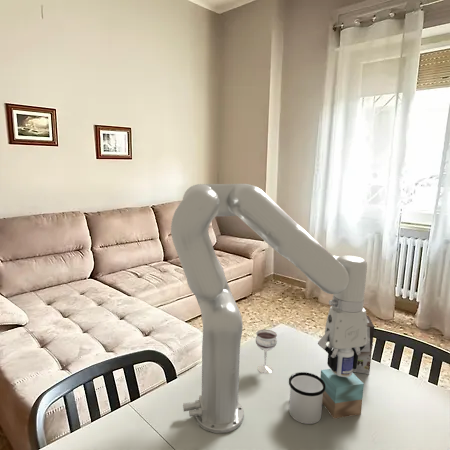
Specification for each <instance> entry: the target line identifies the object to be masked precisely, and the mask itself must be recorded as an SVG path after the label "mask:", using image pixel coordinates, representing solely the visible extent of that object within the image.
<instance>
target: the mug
mask: <svg viewBox="0 0 450 450" xmlns="http://www.w3.org/2000/svg"><path fill="white" fill-rule="evenodd" d="M320 377H321V376H318V375H316V374H314V373H311V372H307V371H306V372H304V371H303V372H301V371H300V372H295V373H293V374H291V375H290V376H289V378H288V385H289V389H290V390H289V393H290V394H289V403H288V405H289V406H288V413H289V415H290V416H291V417H292V418H293V420H295V421H297V422H298V423H302V424H305V425H312V424H316V423H318V422H320V420H321V418H322V412H323V411H322V408H323V404H322V399H323V393H324V391H325V389H326V385H325V382H324V381H323V380H322V379H321V378H320Z"/></svg>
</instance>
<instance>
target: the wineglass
mask: <svg viewBox="0 0 450 450" xmlns="http://www.w3.org/2000/svg"><path fill="white" fill-rule="evenodd" d="M255 335H256V337H255V344H256V345H257V347H258V348H259V349H260V350H262V351H263V352H264V364H259V365H258V366H257V371H258V372H260V373H261V374H271V373H272V372H273V370H274V369H273V367H272V366H271V365H268V364H267V358H268V357H267V355H268V352H269V351H272V350H273V349H275V347H276V346H277V344H278V340H277V337H278V334H277V332H275V331H273V330H271V329H259V330H257V331H256V332H255Z"/></svg>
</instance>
